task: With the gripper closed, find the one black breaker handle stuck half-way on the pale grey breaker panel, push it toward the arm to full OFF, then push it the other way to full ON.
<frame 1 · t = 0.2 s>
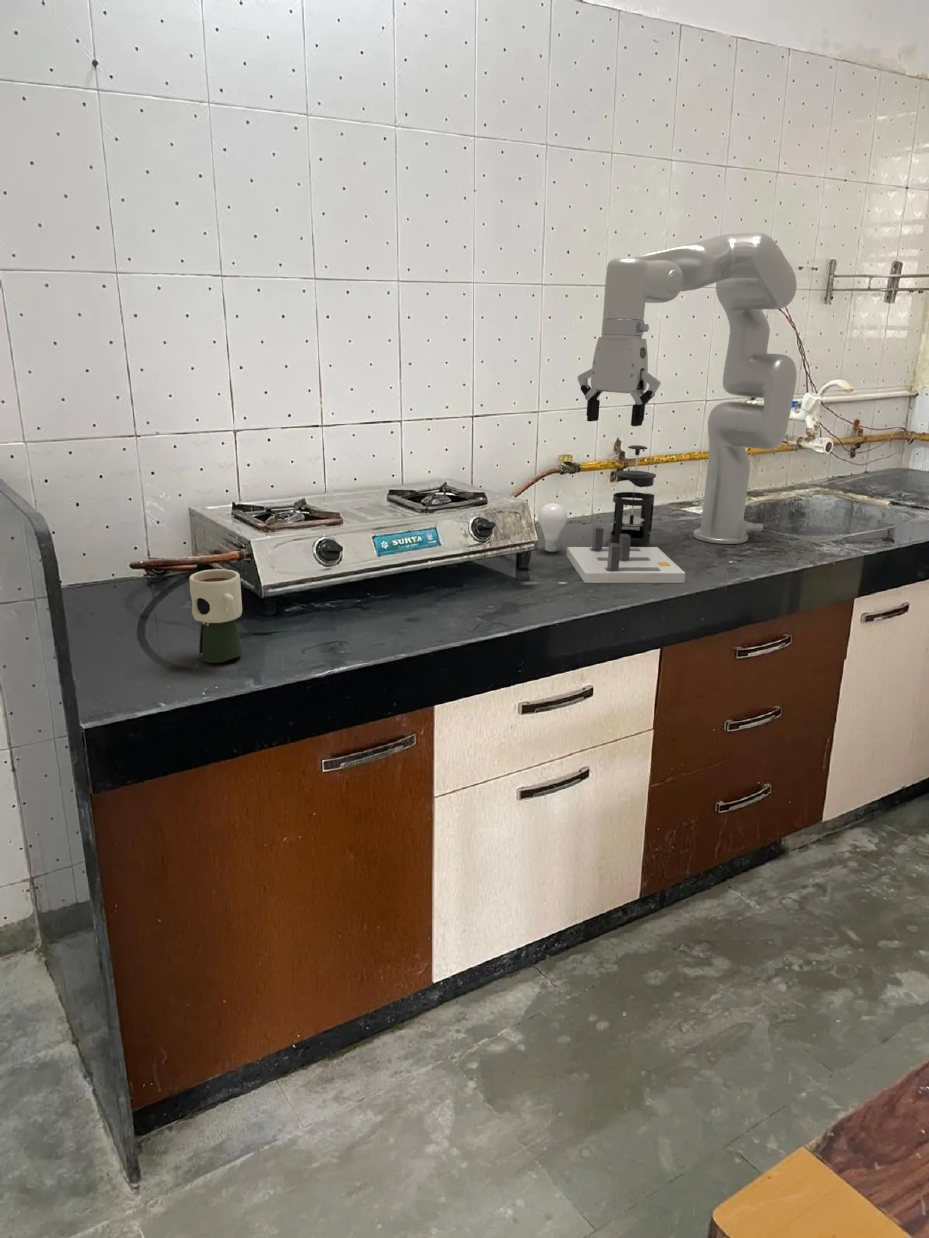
hand: (614, 423, 167), 30 cm above the worktop, tool pointing down, fingers open, 9 cm apart
character mug: (221, 659, 130), on the worktop
breaker 1: (597, 537, 186), point 5 cm above the worktop, slide at 4.0 cm
lightbulb: (550, 553, 192), on the worktop
breaker panel: (622, 568, 181), on the worktop
breaker 2: (613, 556, 172), point 5 cm above the worktop, slide at 4.0 cm
breaker tripped: (624, 546, 179), point 5 cm above the worktop, slide at 0.0 cm
french press: (630, 548, 197), on the worktop
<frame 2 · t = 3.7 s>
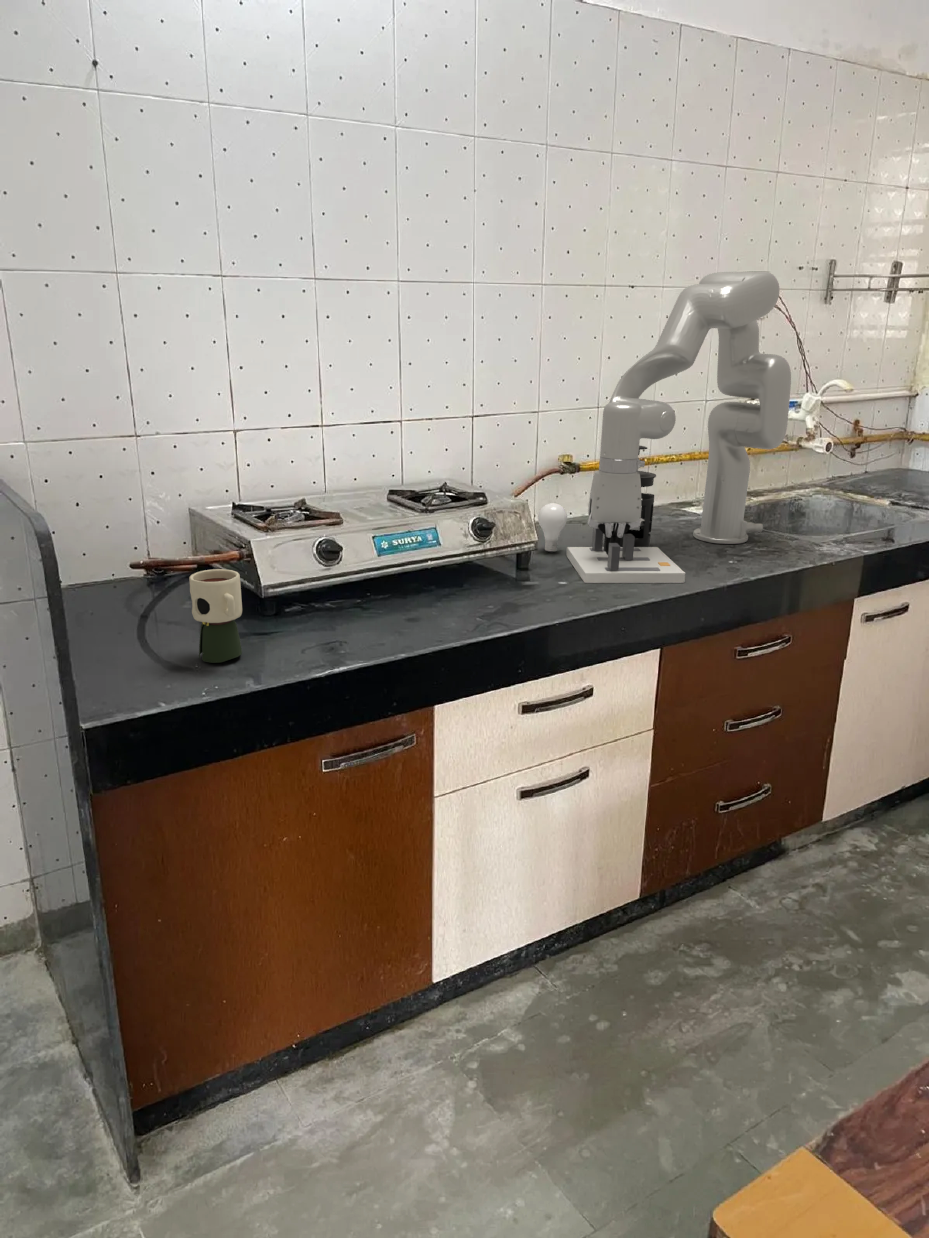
hand: (611, 554, 180), 3 cm above the worktop, tool pointing down, fingers closed
breaker tripped: (628, 546, 179), point 5 cm above the worktop, slide at -0.8 cm, touching gripper
everything else where it was.
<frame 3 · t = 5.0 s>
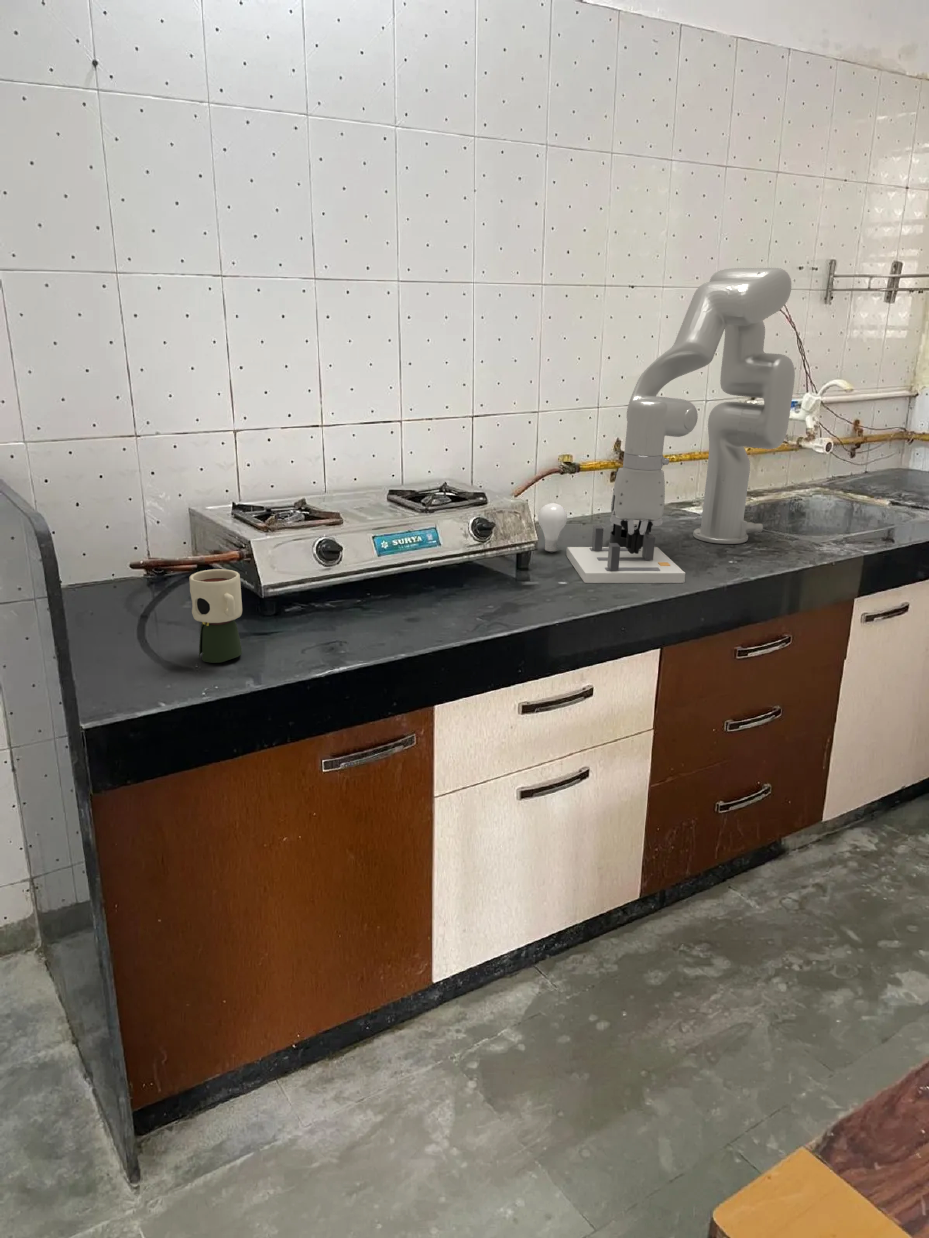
hand: (633, 552, 179), 4 cm above the worktop, tool pointing down, fingers closed
breaker tripped: (648, 546, 180), point 5 cm above the worktop, slide at -5.0 cm, touching gripper
everything else where it was.
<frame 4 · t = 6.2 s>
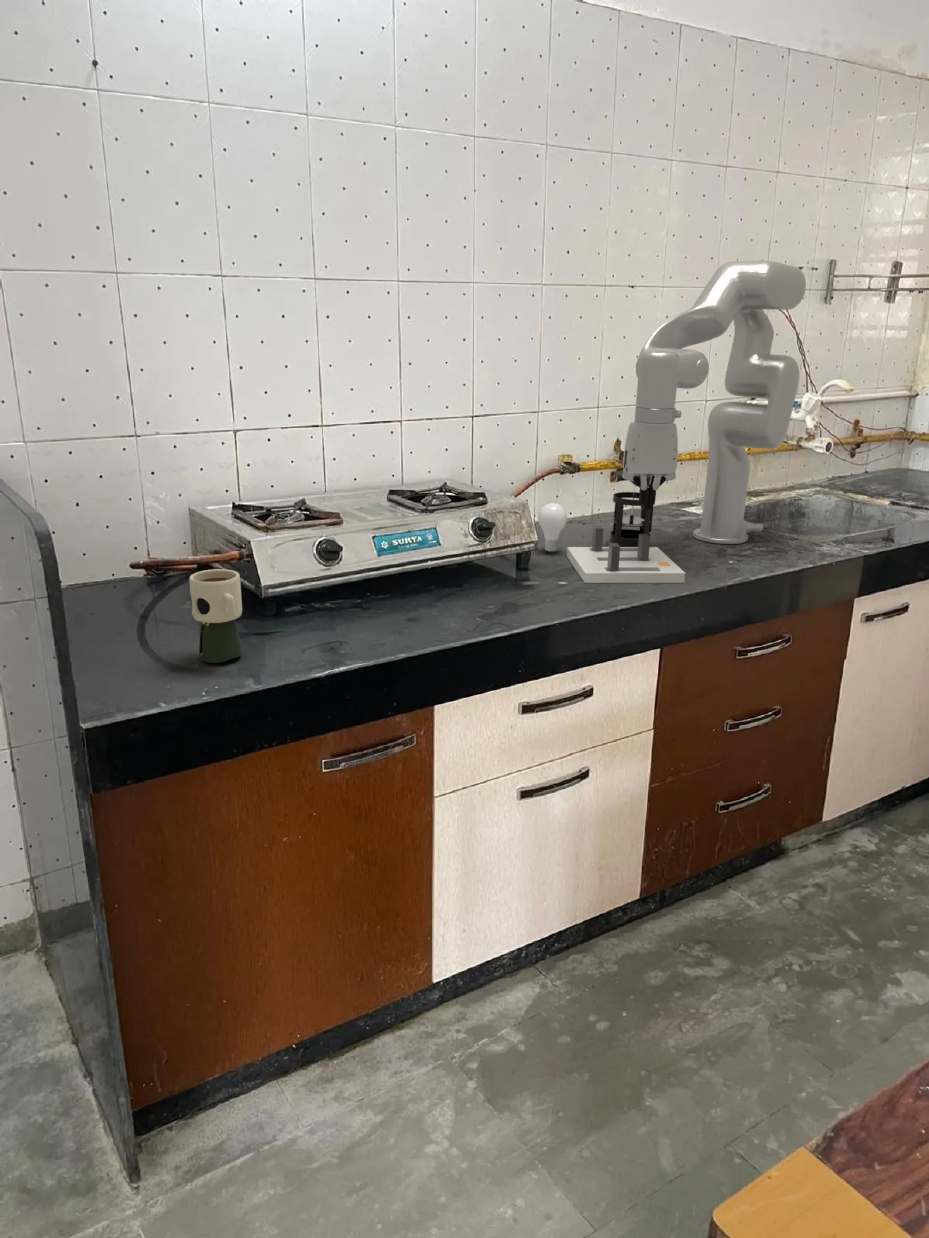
hand: (646, 508, 177), 13 cm above the worktop, tool pointing down, fingers closed
breaker tripped: (643, 546, 179), point 5 cm above the worktop, slide at -4.1 cm
everything else where it was.
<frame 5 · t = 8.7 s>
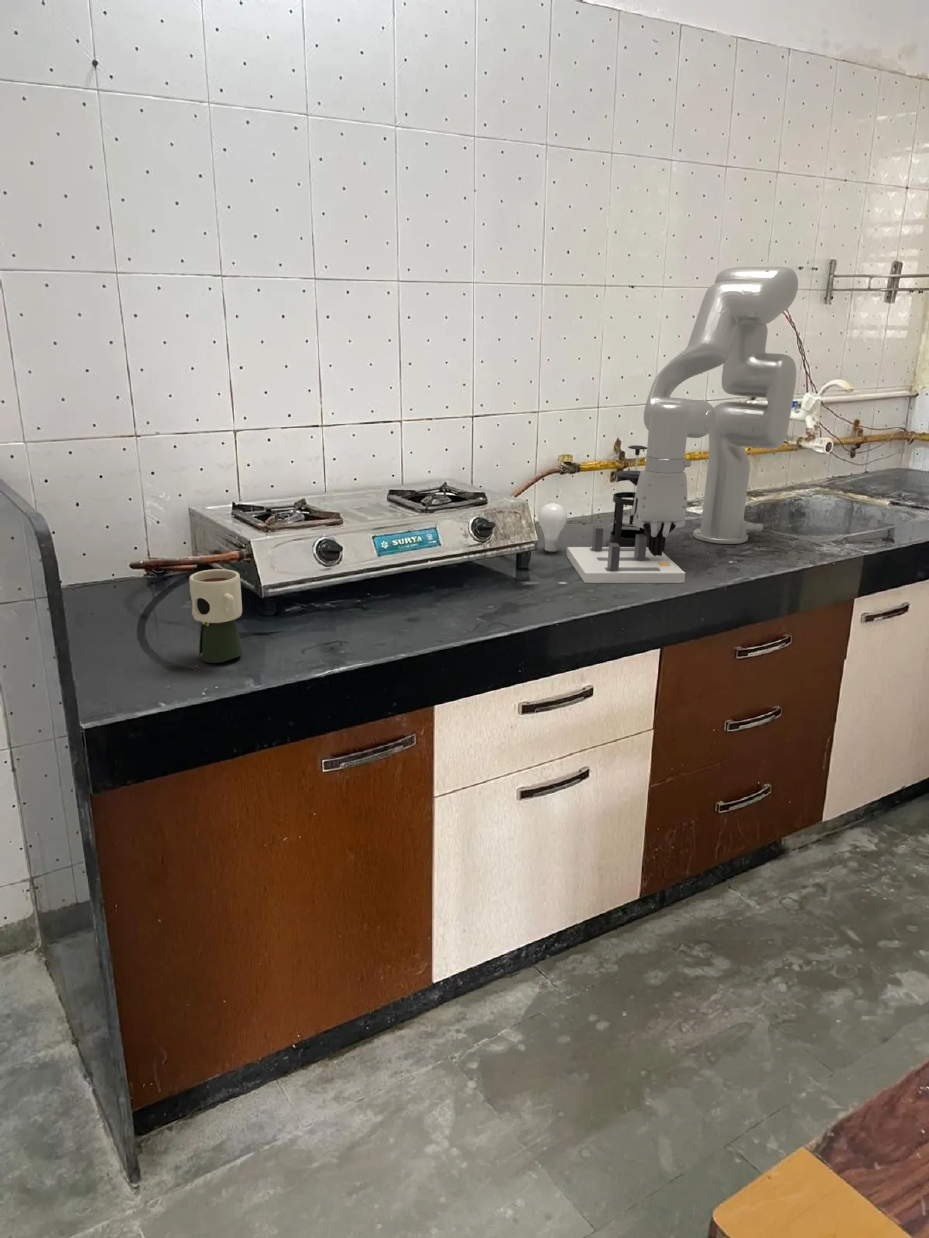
hand: (655, 554, 180), 3 cm above the worktop, tool pointing down, fingers closed
breaker tripped: (640, 546, 179), point 5 cm above the worktop, slide at -3.4 cm, touching gripper
everything else where it was.
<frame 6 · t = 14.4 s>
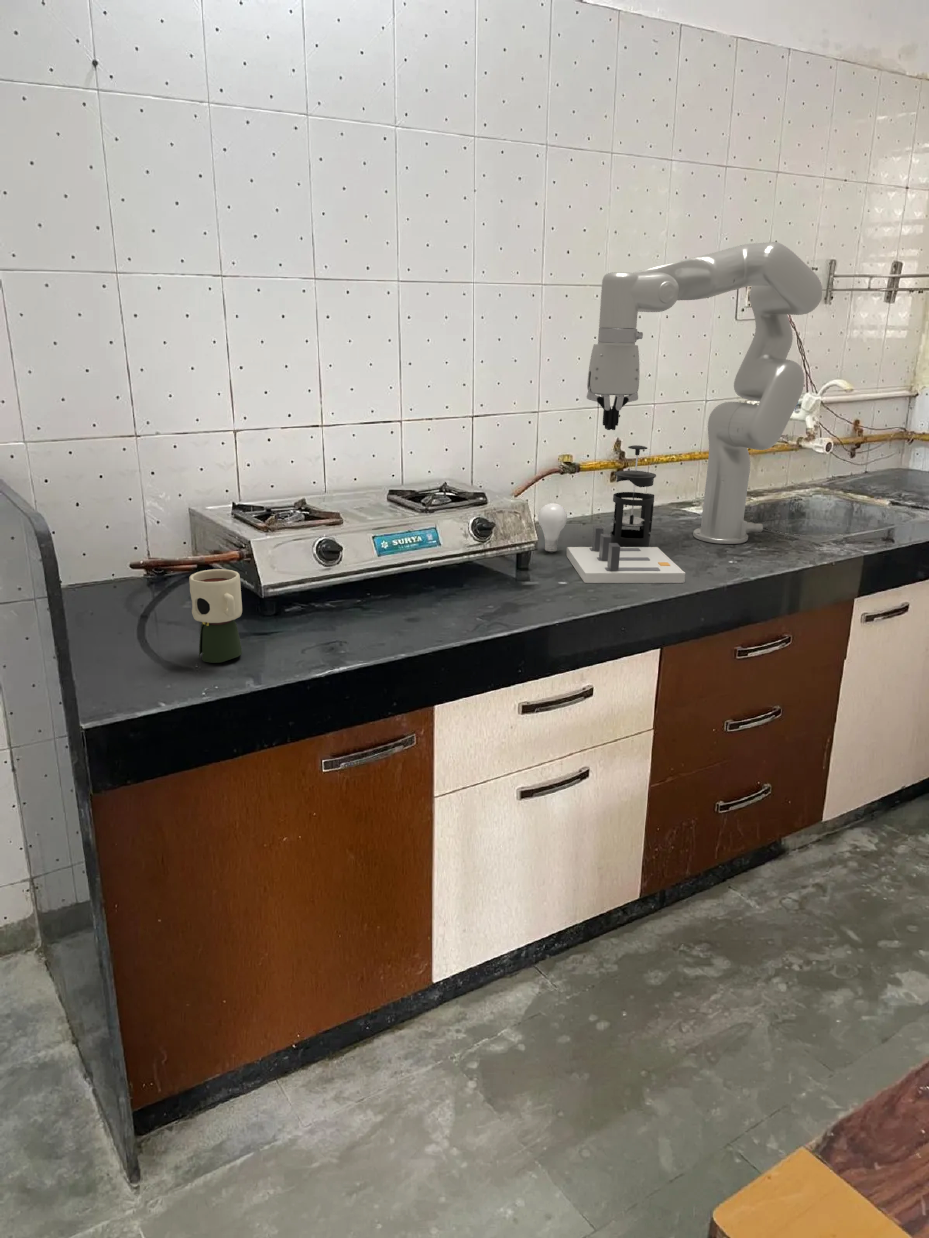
hand: (609, 429, 183), 27 cm above the worktop, tool pointing down, fingers closed
breaker tripped: (605, 546, 179), point 5 cm above the worktop, slide at 4.1 cm
everything else where it was.
at the end: breaker tripped slide at 4.1 cm; breaker 1 slide at 4.0 cm; breaker 2 slide at 4.0 cm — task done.
